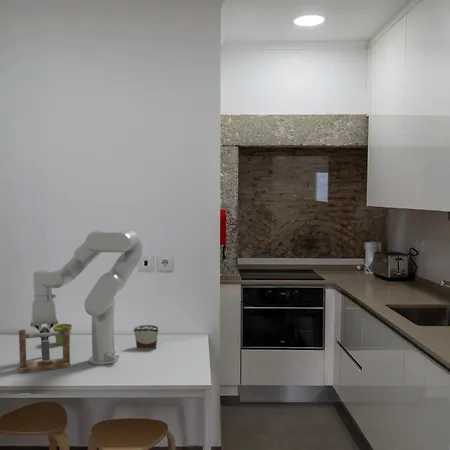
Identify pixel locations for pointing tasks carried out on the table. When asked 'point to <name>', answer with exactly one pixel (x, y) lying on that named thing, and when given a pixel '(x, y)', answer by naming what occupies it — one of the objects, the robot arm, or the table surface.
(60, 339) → the plant pot
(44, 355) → the stepped gray bar
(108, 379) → the table surface
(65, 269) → the robot arm
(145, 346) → the food container
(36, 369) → the rack
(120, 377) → the table surface
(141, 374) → the table surface
